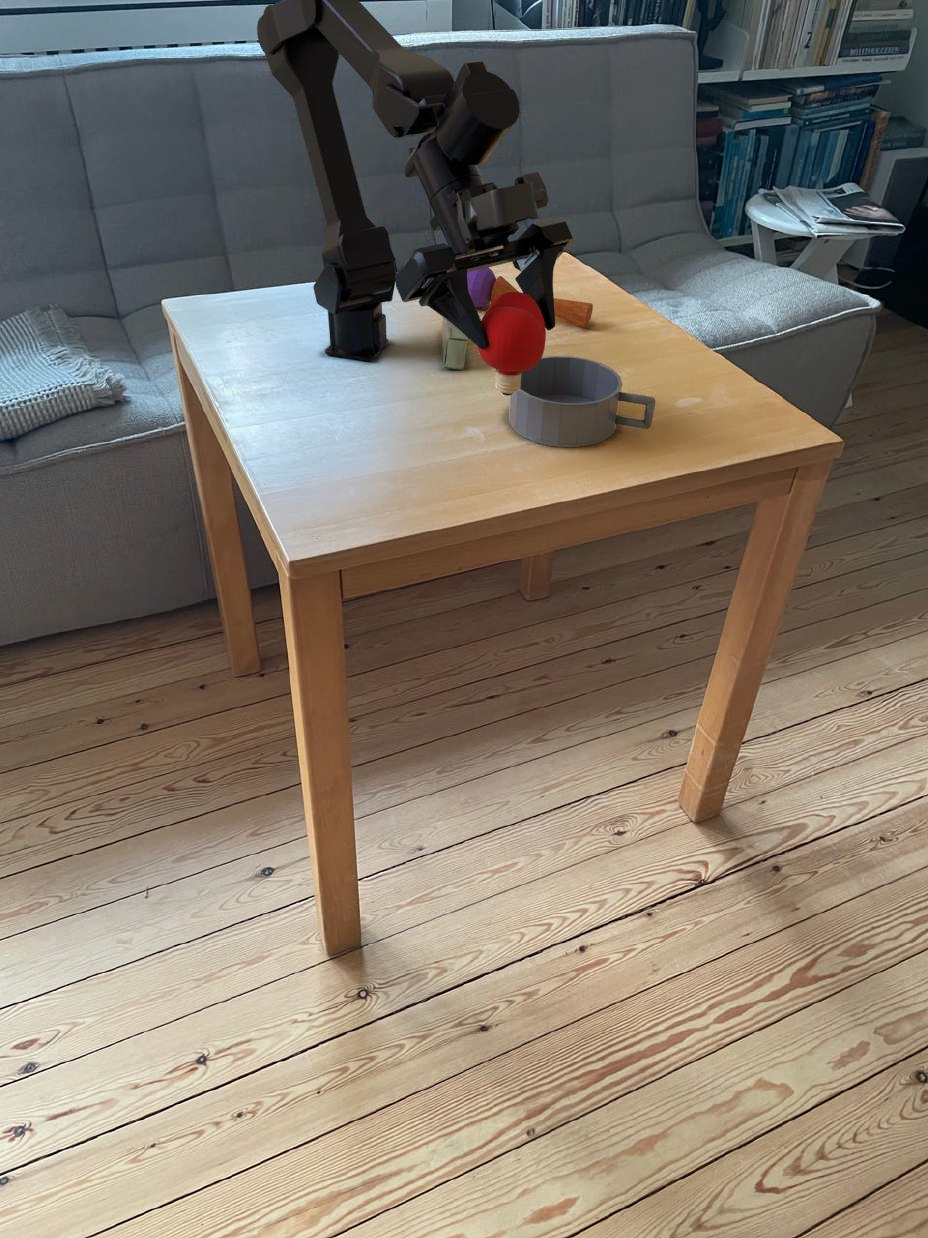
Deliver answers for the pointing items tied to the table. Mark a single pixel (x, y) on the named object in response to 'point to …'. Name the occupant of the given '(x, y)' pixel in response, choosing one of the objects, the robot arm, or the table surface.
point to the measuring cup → (572, 403)
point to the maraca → (489, 289)
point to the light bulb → (513, 338)
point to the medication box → (453, 346)
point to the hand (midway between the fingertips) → (519, 337)
